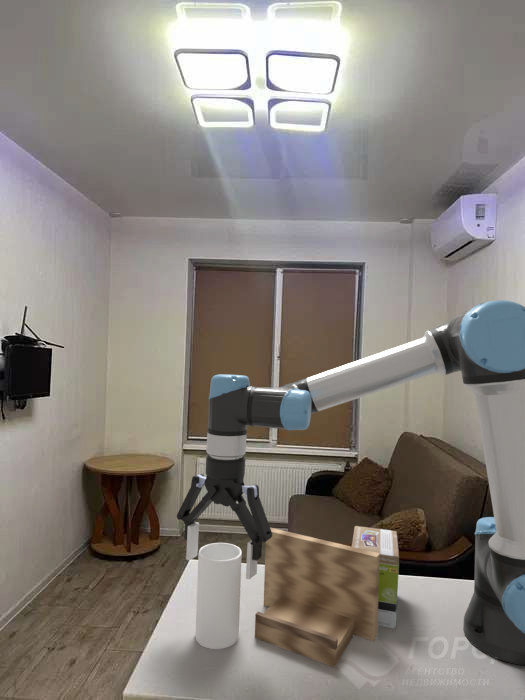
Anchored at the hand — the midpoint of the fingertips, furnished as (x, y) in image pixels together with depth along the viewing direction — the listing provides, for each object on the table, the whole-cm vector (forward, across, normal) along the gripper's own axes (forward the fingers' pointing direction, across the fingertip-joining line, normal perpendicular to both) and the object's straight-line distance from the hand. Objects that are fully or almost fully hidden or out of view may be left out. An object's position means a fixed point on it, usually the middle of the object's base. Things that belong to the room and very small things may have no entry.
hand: (220, 566), depth 88 cm
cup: (+13, 0, 0) cm, 13 cm away
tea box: (+13, -23, -26) cm, 37 cm away
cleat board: (+13, -15, -10) cm, 22 cm away
